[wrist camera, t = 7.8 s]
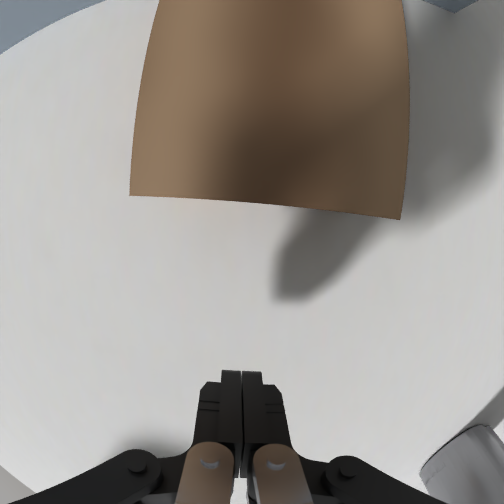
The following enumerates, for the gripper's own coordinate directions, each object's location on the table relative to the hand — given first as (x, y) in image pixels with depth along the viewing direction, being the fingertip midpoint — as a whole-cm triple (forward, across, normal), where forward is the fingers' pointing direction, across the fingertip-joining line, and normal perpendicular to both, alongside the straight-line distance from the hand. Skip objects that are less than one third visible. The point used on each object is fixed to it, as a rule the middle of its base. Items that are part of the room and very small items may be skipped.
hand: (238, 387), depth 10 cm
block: (+4, 0, -13) cm, 13 cm away
